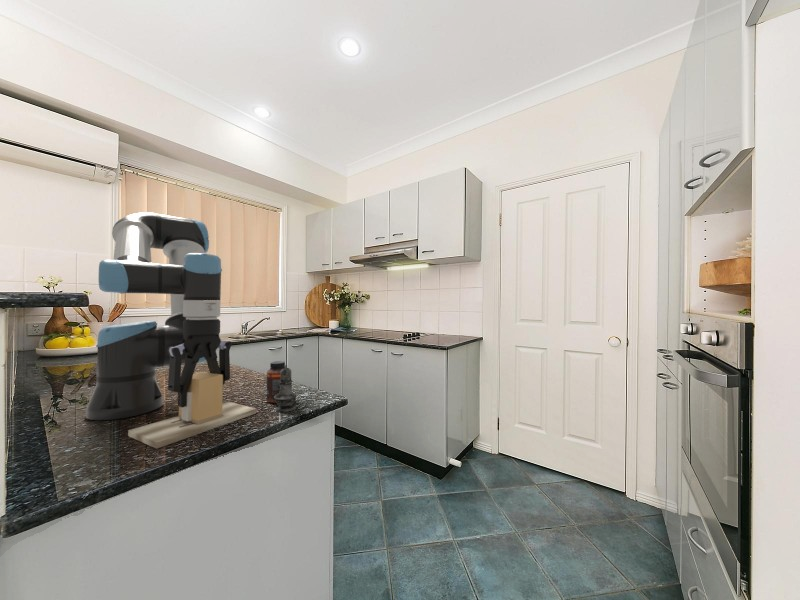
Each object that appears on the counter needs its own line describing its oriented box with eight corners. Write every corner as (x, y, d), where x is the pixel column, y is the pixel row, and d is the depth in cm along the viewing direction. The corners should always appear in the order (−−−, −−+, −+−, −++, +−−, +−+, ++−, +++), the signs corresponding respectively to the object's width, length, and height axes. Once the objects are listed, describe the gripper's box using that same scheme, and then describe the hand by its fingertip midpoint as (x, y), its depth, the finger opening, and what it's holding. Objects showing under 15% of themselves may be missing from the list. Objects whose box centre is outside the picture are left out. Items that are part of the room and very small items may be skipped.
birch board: (128, 435, 65) (128, 430, 65) (227, 405, 84) (227, 401, 84) (156, 448, 59) (156, 442, 59) (256, 413, 79) (256, 408, 79)
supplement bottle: (291, 400, 89) (292, 362, 90) (271, 405, 85) (272, 364, 85) (282, 396, 93) (282, 359, 94) (262, 400, 89) (263, 362, 89)
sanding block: (178, 418, 71) (179, 375, 72) (202, 411, 76) (203, 371, 77) (198, 424, 68) (198, 379, 68) (222, 416, 73) (222, 374, 73)
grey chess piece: (300, 405, 85) (301, 362, 85) (291, 413, 79) (291, 367, 79) (280, 405, 85) (280, 362, 85) (269, 412, 79) (270, 366, 79)
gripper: (166, 320, 62) (164, 433, 62) (247, 317, 79) (246, 406, 79) (148, 319, 66) (145, 426, 66) (229, 316, 82) (228, 402, 82)
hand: (200, 415), depth 72 cm, fingers closed on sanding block, 5 cm apart
